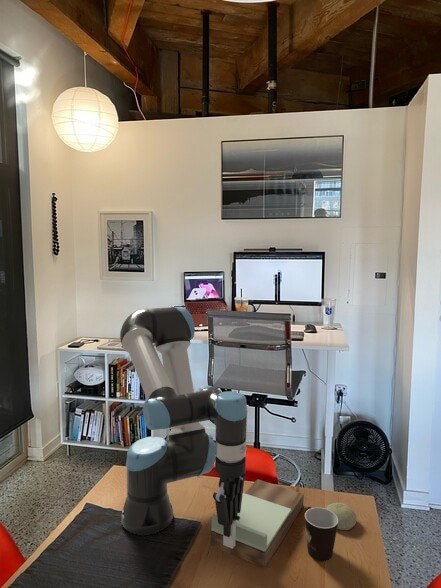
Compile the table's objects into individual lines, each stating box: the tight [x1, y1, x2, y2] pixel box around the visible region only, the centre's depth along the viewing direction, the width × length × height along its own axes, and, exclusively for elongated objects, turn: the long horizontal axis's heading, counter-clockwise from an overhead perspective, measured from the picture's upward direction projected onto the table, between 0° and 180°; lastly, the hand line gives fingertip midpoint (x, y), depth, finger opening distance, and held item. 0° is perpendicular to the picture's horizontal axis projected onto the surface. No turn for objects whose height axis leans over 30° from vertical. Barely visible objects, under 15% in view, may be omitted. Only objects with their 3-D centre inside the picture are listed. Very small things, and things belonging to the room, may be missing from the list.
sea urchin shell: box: [325, 502, 357, 531], centre depth 123 cm, size 9×8×8 cm
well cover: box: [210, 492, 291, 552], centre depth 117 cm, size 16×19×4 cm
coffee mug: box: [304, 506, 338, 562], centre depth 112 cm, size 12×9×10 cm
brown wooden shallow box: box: [210, 479, 305, 569], centre depth 122 cm, size 16×30×4 cm, turn 150°
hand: (229, 544), depth 105 cm, fingers closed
